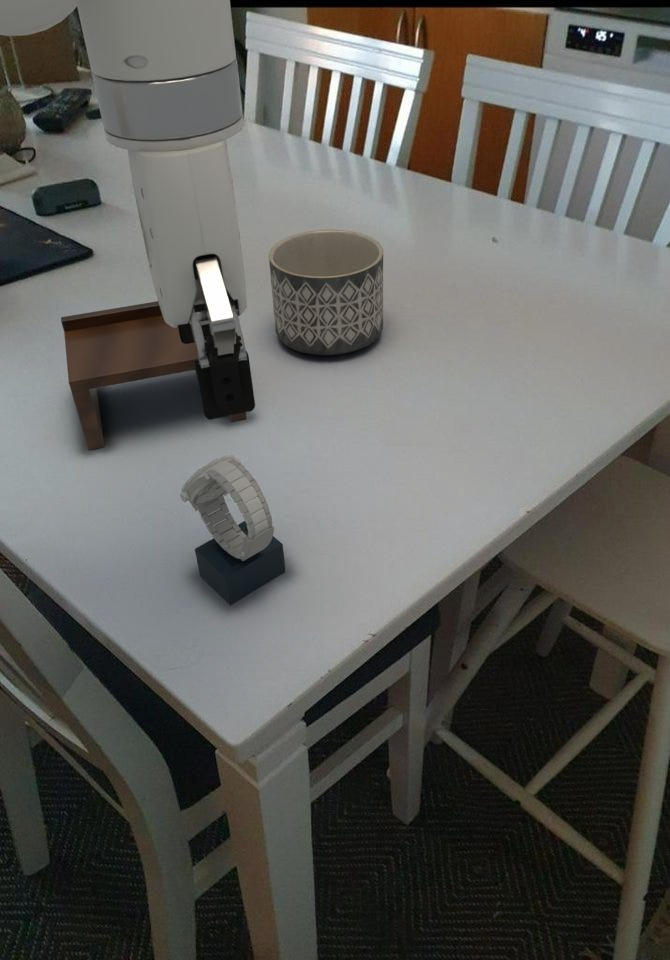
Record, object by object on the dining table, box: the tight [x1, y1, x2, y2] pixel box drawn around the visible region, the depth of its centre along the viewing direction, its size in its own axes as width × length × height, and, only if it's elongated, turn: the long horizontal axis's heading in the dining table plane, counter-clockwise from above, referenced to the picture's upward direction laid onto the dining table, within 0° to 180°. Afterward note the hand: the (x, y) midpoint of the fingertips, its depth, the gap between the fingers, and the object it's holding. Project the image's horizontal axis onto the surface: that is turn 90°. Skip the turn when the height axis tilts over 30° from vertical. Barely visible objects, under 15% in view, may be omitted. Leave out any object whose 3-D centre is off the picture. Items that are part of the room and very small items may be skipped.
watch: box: [179, 454, 286, 606], centre depth 63 cm, size 6×8×11 cm
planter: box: [268, 229, 384, 356], centre depth 93 cm, size 13×13×10 cm
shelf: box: [60, 300, 247, 451], centre depth 83 cm, size 16×11×9 cm
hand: (215, 373), depth 54 cm, fingers open, 9 cm apart
